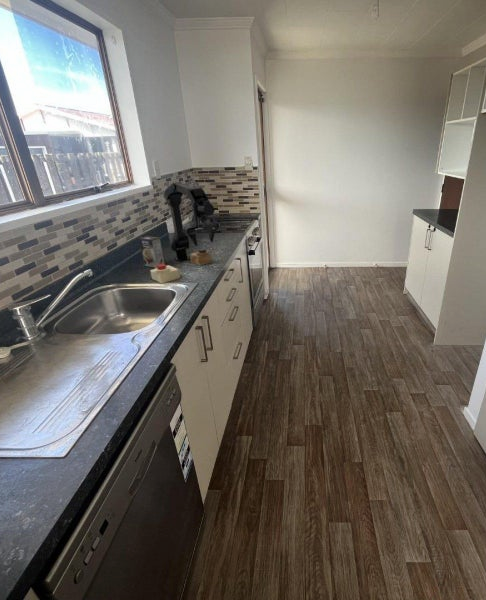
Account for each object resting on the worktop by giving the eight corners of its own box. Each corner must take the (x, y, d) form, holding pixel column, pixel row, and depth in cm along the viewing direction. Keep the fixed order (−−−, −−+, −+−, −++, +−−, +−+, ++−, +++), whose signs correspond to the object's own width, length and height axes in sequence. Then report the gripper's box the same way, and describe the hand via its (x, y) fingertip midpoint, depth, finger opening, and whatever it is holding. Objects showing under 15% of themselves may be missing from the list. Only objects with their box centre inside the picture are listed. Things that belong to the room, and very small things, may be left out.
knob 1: (156, 269, 163) (155, 265, 162) (163, 267, 165) (163, 263, 164) (160, 271, 160) (159, 267, 159) (167, 268, 163) (167, 264, 162)
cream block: (151, 279, 167) (148, 267, 164) (170, 273, 174) (168, 261, 171) (161, 284, 161) (158, 271, 158) (180, 278, 168) (178, 266, 165)
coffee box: (144, 266, 185) (138, 238, 178) (153, 262, 191) (147, 235, 184) (156, 268, 182) (150, 239, 175) (165, 264, 187) (159, 236, 181)
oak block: (191, 262, 190) (189, 250, 187) (203, 259, 196) (201, 247, 193) (201, 266, 184) (199, 254, 181) (213, 263, 189) (212, 251, 186)
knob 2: (197, 252, 185) (197, 249, 185) (203, 250, 188) (203, 248, 187) (201, 253, 183) (201, 250, 182) (207, 252, 186) (207, 249, 185)
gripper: (190, 218, 155) (196, 250, 161) (223, 212, 167) (227, 242, 173) (179, 215, 162) (185, 246, 168) (211, 210, 174) (216, 239, 180)
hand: (204, 243), depth 172 cm, fingers open, 9 cm apart
